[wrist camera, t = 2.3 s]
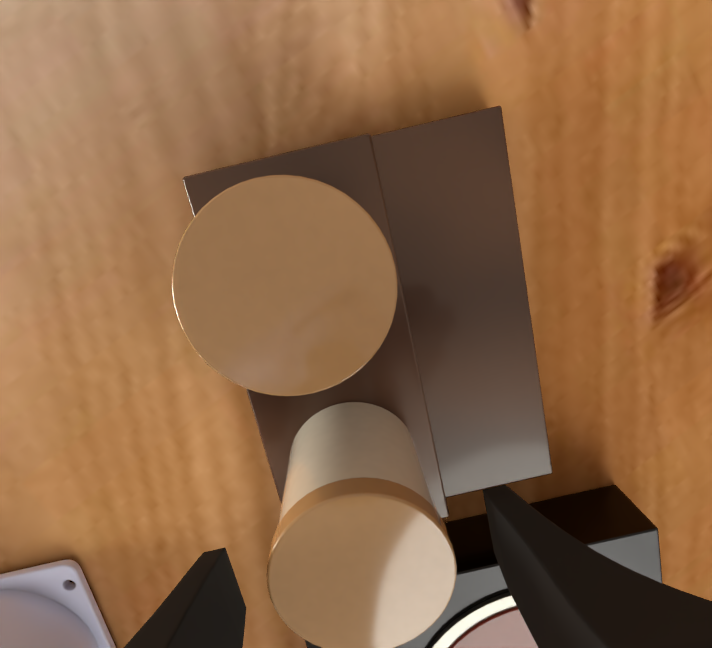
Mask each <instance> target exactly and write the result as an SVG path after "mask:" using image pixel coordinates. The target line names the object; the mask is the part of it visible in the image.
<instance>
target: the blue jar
mask: <svg viewBox="0 0 712 648" xmlns="http://www.w3.org/2000/svg"><path fill="white" fill-rule="evenodd" d="M172 294H173V302H174V306H175V310H176V314H177V317H178V320H179V322H180V325H181V327H182V330H183V332H184V334H185V335H186V337H187V339H188V341H189V342H190V344H191V345H192V347H193V348H194V349H195V351H196V352H197V353H198V355H199V356H200V357H201V358H202V359H203V360H204V361H205V362H206V363H207V364H208V365H209V366H210V367H211V368H213V369H214V370H215V371H216V372H217V373H219V374H220V375H222V376H223V377H225V378H226V379H228V380H230V381H231V382H233V383H235V384H237V385H239V386H242V387H244V388H246V389H249V390H252V391H255V392H259V393H264V394H269V395H277V396H300V395H306V394H312V393H316V392H319V391H323V390H326V389H329V388H331V387H333V386H335V385H338V384H340V383H341V382H343V381H345V380H347V379H348V378H350V377H351V376H353V375H354V374H355V373H357V372H358V371H359V370H360V369H362V368H363V367H364V366H365V365H366V364H367V363H368V362H369V361H370V360H371V359H372V357H373V356H374V355H375V353H376V352H377V351H378V349H379V348H380V347H381V345H382V343H383V341H384V340H385V338H386V336H387V334H388V332H389V329H390V327H391V324H392V321H393V318H394V314H395V310H396V303H397V296H398V281H397V273H396V266H395V263H394V259H393V255H392V252H391V249H390V247H389V245H388V242H387V240H386V238H385V236H384V235H383V233H382V231H381V229H380V228H379V226H378V225H377V223H376V222H375V221H374V220H373V218H372V217H371V216H370V214H369V213H368V212H367V211H366V210H365V209H364V208H363V207H362V206H361V205H360V204H358V203H357V202H356V201H355V200H353V199H352V198H351V197H349V196H348V195H347V194H345V193H344V192H342V191H340V190H338V189H336V188H335V187H333V186H331V185H328V184H326V183H323V182H321V181H318V180H314V179H310V178H306V177H302V176H293V175H269V176H263V177H257V178H253V179H250V180H246V181H243V182H240V183H238V184H236V185H234V186H232V187H230V188H227V189H226V190H224V191H223V192H221V193H220V194H218V195H217V196H215V197H214V198H213V199H211V200H210V201H209V202H208V203H207V204H206V205H205V206H203V207H202V208H201V210H200V211H199V212H198V213H197V214H196V215H195V217H194V218H193V219H192V221H191V222H190V224H189V225H188V227H187V228H186V230H185V232H184V234H183V236H182V238H181V240H180V243H179V245H178V248H177V252H176V255H175V258H174V264H173V271H172Z"/></svg>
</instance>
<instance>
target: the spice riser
mask: <svg viewBox="0 0 712 648" xmlns="http://www.w3.org/2000/svg"><path fill="white" fill-rule="evenodd" d="M269 175H293V176H302V177H306V178H310V179H314V180H318V181H321V182H323V183H326V184H328V185H331V186H333V187H335V188H336V189H338V190H340V191H342V192H344V193H345V194H347V195H348V196H349V197H351V198H352V199H353V200H355V201H356V202H357V203H358V204H360V205H361V206H362V207H363V208H364V209H365V210H366V211H367V212H368V213H369V214H370V216H371V217H372V218H373V220H374V221H375V222H376V223H377V225H378V226H379V228H380V229H381V231H382V233H383V235H384V236H385V238H386V240H387V242H388V245H389V247H390V249H391V252H392V255H393V259H394V263H395V266H396V273H397V281H398V296H397V303H396V310H395V314H394V318H393V321H392V324H391V327H390V329H389V332H388V334H387V336H386V338H385V340H384V341H383V343H382V345H381V347H380V348H379V349H378V351H377V352H376V353H375V355H374V356H373V357H372V359H371V360H370V361H369V362H368V363H367V364H366V365H365V366H364V367H363V368H362V369H360V370H359V371H358V372H357V373H355V374H354V375H353V376H351V377H350V378H348V379H347V380H345V381H343V382H341V383H340V384H338V385H335V386H333V387H331V388H329V389H326V390H323V391H319V392H316V393H312V394H306V395H300V396H277V395H269V394H264V393H259V392H255V391H252V390H249V389H246V390H247V393H248V396H249V400H250V403H251V406H252V409H253V413H254V416H255V419H256V423H257V426H258V429H259V432H260V436H261V439H262V442H263V446H264V449H265V452H266V455H267V459H268V462H269V465H270V469H271V472H272V475H273V478H274V482H275V485H276V488H277V491H278V495H279V498H280V501H281V504H282V498H283V492H284V486H285V480H286V474H287V468H288V461H289V455H290V450H291V446H292V443H293V441H294V438H295V436H296V434H297V433H298V431H299V430H300V428H301V427H302V426H303V424H304V423H305V422H306V421H307V420H308V419H310V418H311V417H312V416H313V415H315V414H316V413H318V412H320V411H321V410H323V409H325V408H328V407H330V406H333V405H336V404H340V403H346V402H363V403H369V404H373V405H376V406H379V407H382V408H384V409H386V410H388V411H389V412H391V413H393V414H394V415H395V416H397V417H398V418H399V419H400V420H401V421H402V422H403V423H404V424H405V426H406V427H407V428H408V430H409V431H410V433H411V435H412V437H413V439H414V442H415V445H416V448H417V451H418V454H419V458H420V461H421V464H422V467H423V470H424V473H425V476H426V479H427V482H428V485H429V488H430V491H431V494H432V497H433V500H434V503H435V506H436V509H437V512H438V513H439V515H440V516H441V518H445V517H448V516H449V511H448V506H447V502H446V497H450V496H455V495H459V494H464V493H468V492H472V491H477V490H481V489H486V488H490V487H495V486H499V485H503V484H508V483H512V482H517V481H521V480H525V479H530V478H534V477H539V476H543V475H548V474H552V465H551V458H550V451H549V444H548V437H547V429H546V422H545V415H544V408H543V401H542V394H541V387H540V380H539V373H538V366H537V358H536V351H535V344H534V337H533V330H532V323H531V316H530V309H529V302H528V295H527V287H526V280H525V273H524V266H523V259H522V252H521V245H520V238H519V231H518V224H517V216H516V209H515V202H514V195H513V188H512V181H511V174H510V167H509V160H508V153H507V145H506V138H505V131H504V124H503V117H502V110H501V106H496V107H492V108H487V109H483V110H479V111H475V112H471V113H466V114H462V115H458V116H454V117H449V118H445V119H441V120H437V121H432V122H428V123H424V124H420V125H416V126H411V127H407V128H403V129H399V130H394V131H390V132H386V133H382V134H378V135H373V136H371V135H370V134H363V135H359V136H354V137H350V138H346V139H342V140H338V141H333V142H329V143H325V144H321V145H316V146H312V147H308V148H304V149H300V150H295V151H291V152H287V153H283V154H278V155H274V156H270V157H266V158H262V159H257V160H253V161H249V162H245V163H240V164H236V165H232V166H228V167H223V168H219V169H215V170H211V171H207V172H202V173H198V174H194V175H190V176H185V177H184V178H183V183H184V186H185V190H186V193H187V196H188V200H189V203H190V206H191V209H192V213H193V216H194V217H195V215H196V214H197V213H198V212H199V211H200V210H201V208H202V207H203V206H205V205H206V204H207V203H208V202H209V201H210V200H211V199H213V198H214V197H215V196H217V195H218V194H220V193H221V192H223V191H224V190H226V189H227V188H230V187H232V186H234V185H236V184H238V183H240V182H243V181H246V180H250V179H253V178H257V177H263V176H269Z"/></svg>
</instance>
